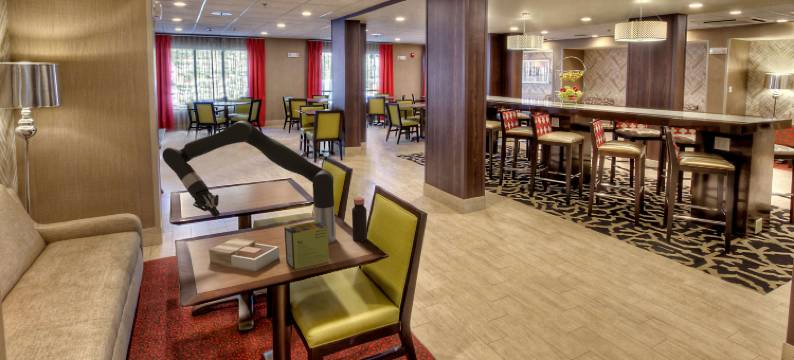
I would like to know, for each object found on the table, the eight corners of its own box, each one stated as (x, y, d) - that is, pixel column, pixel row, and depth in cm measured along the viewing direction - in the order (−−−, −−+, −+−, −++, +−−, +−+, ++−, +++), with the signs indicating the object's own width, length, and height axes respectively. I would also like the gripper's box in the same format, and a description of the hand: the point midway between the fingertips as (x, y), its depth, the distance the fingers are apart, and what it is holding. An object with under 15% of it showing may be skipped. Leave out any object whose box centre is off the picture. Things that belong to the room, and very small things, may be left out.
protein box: (329, 262, 211) (328, 226, 208) (294, 269, 203) (292, 233, 200) (319, 254, 220) (318, 220, 217) (285, 261, 212) (283, 226, 209)
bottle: (349, 240, 237) (348, 199, 233) (357, 236, 243) (356, 196, 239) (362, 242, 234) (361, 201, 230) (369, 238, 240) (369, 197, 235)
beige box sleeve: (236, 250, 225) (235, 237, 224) (256, 253, 221) (255, 240, 219) (210, 263, 210) (209, 249, 209) (231, 267, 206) (230, 253, 205)
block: (245, 246, 213) (261, 248, 211) (246, 257, 214) (262, 259, 212) (238, 250, 209) (254, 252, 206) (239, 261, 210) (255, 264, 207)
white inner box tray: (256, 254, 221) (255, 243, 219) (279, 257, 216) (278, 246, 215) (231, 267, 206) (230, 255, 205) (255, 271, 202) (254, 259, 201)
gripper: (185, 183, 211) (209, 214, 208) (210, 176, 222) (233, 207, 219) (178, 193, 215) (201, 225, 212) (203, 187, 226) (225, 217, 223)
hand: (217, 216), depth 216 cm, fingers closed
